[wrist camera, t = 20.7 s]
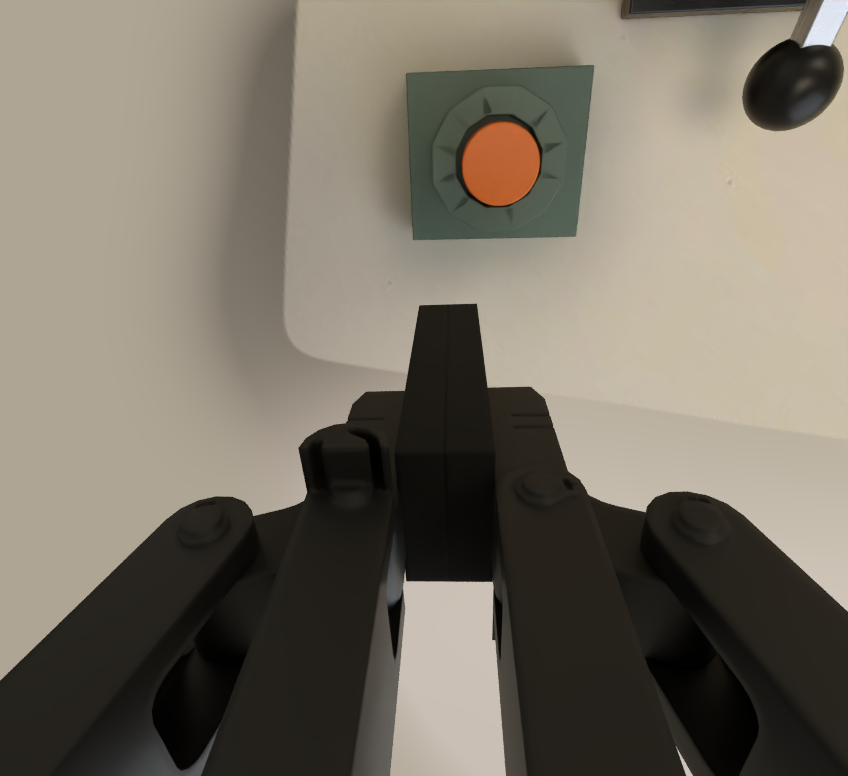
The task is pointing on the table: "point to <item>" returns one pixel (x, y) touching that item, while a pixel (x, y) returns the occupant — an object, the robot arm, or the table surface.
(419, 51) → the table surface
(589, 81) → the control block
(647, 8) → the bracket
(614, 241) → the table surface
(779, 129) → the lever
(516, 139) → the button
